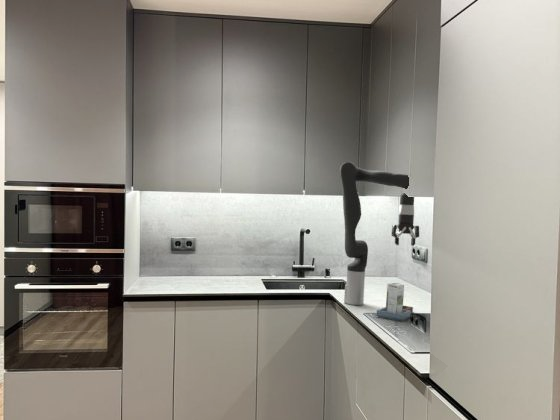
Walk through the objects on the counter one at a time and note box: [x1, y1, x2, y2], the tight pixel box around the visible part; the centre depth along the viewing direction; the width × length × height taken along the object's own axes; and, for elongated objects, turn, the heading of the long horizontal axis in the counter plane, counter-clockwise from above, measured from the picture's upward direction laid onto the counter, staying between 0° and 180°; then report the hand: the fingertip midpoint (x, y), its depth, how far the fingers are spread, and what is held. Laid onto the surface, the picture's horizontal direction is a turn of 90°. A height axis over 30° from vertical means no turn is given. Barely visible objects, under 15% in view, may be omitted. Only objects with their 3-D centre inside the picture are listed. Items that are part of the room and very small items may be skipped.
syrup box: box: [385, 282, 405, 314], centre depth 214 cm, size 6×6×14 cm
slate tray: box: [375, 306, 412, 322], centre depth 214 cm, size 12×12×3 cm
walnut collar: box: [403, 305, 414, 314], centre depth 226 cm, size 10×10×2 cm
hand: (404, 245), depth 238 cm, fingers open, 8 cm apart
